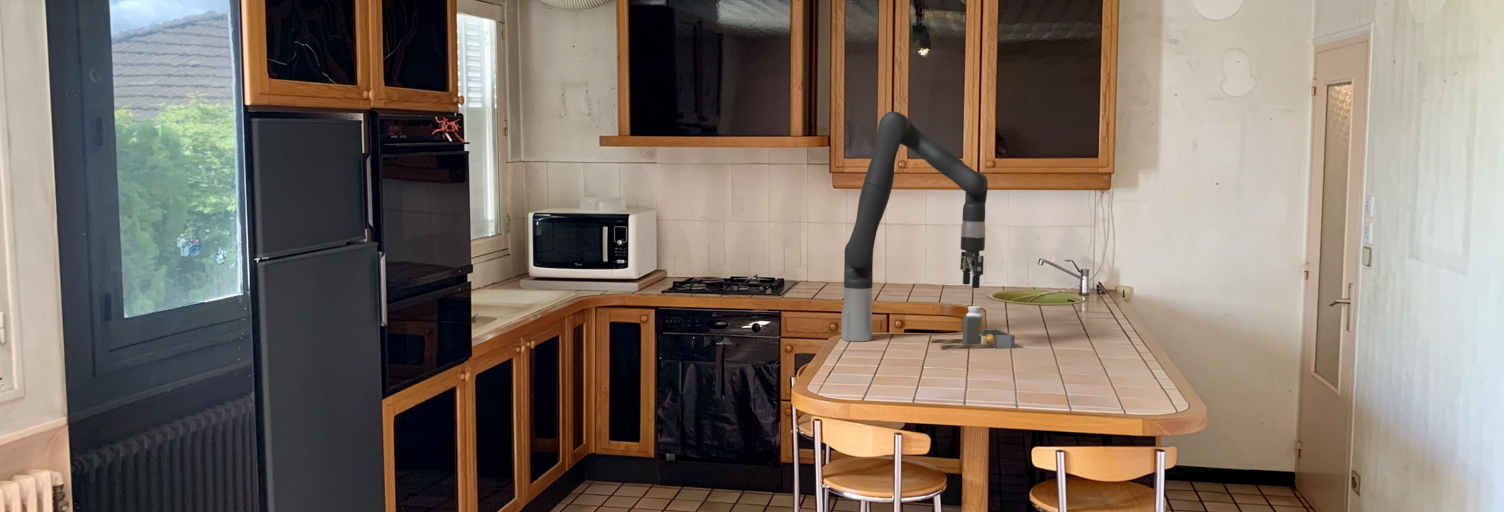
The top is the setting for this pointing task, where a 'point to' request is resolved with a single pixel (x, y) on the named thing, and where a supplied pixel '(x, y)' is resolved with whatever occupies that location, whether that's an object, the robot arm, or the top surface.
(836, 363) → the top surface
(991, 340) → the ball
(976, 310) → the supplement bottle
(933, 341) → the lane
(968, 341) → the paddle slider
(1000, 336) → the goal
